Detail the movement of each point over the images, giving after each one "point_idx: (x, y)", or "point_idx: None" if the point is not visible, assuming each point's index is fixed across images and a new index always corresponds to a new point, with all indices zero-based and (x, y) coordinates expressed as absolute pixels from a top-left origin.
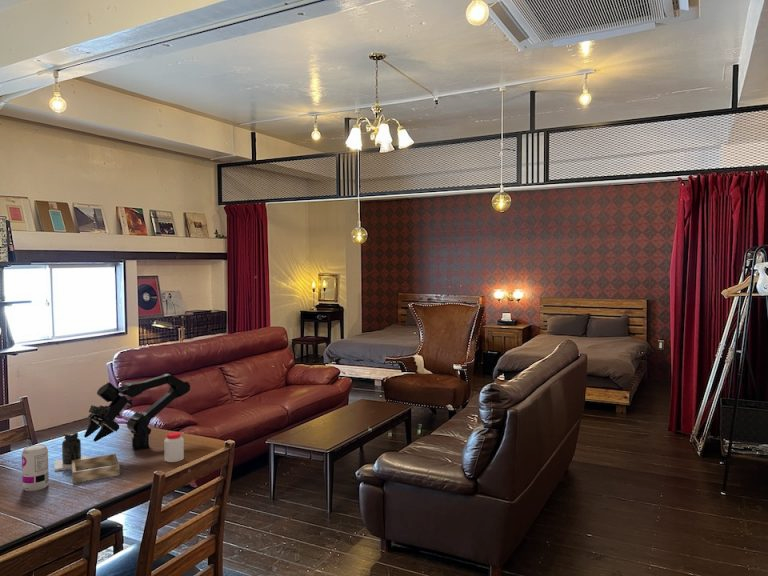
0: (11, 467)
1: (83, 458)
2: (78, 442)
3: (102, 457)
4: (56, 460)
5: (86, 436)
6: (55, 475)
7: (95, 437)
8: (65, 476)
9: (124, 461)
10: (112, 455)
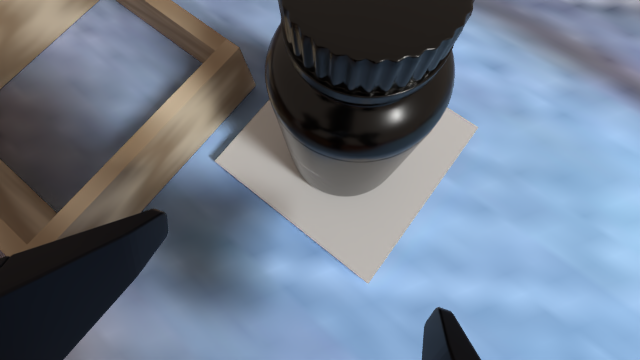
0: (612, 3)
1: (336, 227)
2: (266, 84)
3: (91, 185)
4: (467, 132)
5: (427, 334)
6: (274, 11)
7: (115, 224)
8: (213, 19)
9: None
10: (35, 241)
